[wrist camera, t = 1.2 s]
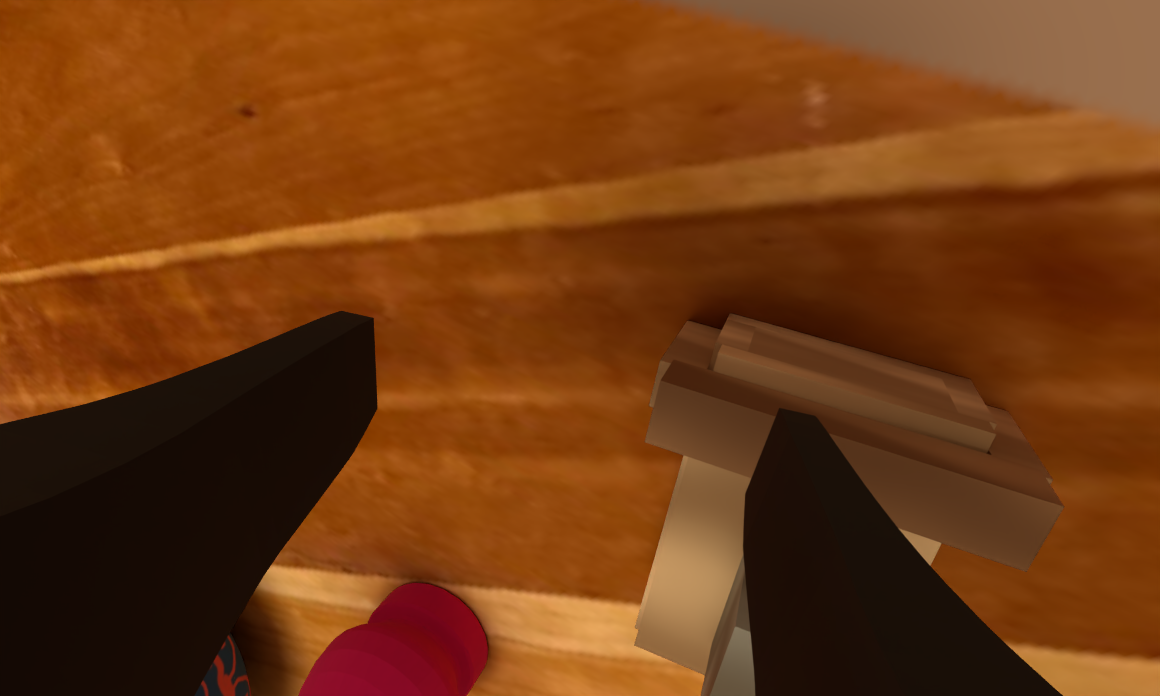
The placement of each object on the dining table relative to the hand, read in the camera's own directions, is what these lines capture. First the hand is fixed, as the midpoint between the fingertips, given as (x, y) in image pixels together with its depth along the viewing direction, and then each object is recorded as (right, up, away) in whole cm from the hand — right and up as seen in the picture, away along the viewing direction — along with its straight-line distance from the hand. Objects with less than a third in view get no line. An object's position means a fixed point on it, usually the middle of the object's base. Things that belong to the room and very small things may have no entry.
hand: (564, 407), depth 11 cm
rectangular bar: (+8, -2, +7) cm, 10 cm away
